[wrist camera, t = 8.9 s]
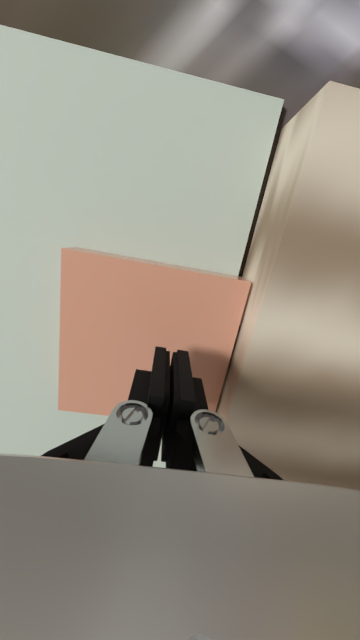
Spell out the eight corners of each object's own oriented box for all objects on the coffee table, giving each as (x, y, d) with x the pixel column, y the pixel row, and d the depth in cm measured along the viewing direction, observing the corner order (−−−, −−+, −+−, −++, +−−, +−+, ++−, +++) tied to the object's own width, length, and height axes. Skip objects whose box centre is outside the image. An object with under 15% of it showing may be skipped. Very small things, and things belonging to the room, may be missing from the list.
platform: (354, 495, 22) (392, 548, 18) (188, 479, 21) (192, 533, 17) (533, 191, 14) (667, 174, 10) (281, 128, 13) (329, 80, 9)
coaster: (206, 407, 18) (210, 427, 16) (70, 390, 17) (58, 409, 15) (241, 276, 15) (251, 281, 13) (76, 246, 14) (61, 247, 12)
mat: (181, 487, 21) (181, 491, 21) (-17, 468, 19) (-20, 473, 19) (280, 104, 12) (284, 99, 12) (-66, 13, 11) (-75, 5, 10)
